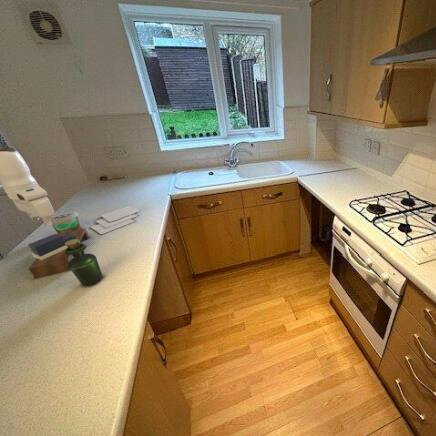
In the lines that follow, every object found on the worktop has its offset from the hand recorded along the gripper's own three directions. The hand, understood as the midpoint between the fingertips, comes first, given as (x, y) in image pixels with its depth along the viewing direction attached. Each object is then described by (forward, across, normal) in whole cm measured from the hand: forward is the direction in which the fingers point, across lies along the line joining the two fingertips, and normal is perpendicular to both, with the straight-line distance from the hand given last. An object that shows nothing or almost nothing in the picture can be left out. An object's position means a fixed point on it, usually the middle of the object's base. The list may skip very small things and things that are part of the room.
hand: (42, 222), depth 96 cm
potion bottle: (+18, +27, -3) cm, 33 cm away
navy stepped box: (+13, 0, 0) cm, 13 cm away
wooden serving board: (+18, -2, +2) cm, 18 cm away
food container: (+18, -23, +14) cm, 32 cm away
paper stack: (+18, -15, +33) cm, 41 cm away
